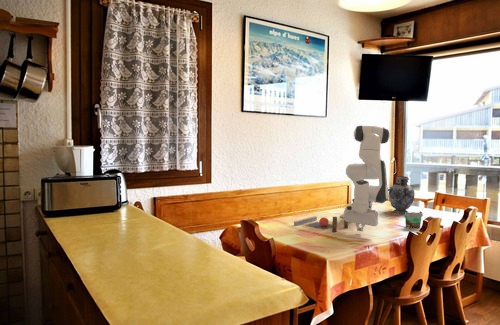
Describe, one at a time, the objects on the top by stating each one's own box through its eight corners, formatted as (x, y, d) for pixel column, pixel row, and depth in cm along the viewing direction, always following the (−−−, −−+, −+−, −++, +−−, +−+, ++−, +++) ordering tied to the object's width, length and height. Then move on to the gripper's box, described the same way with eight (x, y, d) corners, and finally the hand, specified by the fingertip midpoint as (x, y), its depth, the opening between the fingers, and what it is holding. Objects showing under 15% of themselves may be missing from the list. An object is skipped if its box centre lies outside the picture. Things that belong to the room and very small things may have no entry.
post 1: (331, 231, 227) (331, 216, 226) (333, 230, 229) (334, 216, 228) (335, 232, 225) (335, 217, 224) (337, 231, 227) (337, 217, 226)
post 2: (343, 227, 237) (343, 213, 237) (345, 227, 239) (345, 213, 239) (346, 228, 236) (347, 214, 235) (348, 227, 238) (349, 213, 237)
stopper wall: (293, 225, 241) (294, 221, 241) (314, 219, 259) (314, 216, 259) (296, 225, 240) (296, 222, 239) (316, 220, 257) (316, 216, 257)
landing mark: (305, 225, 241) (305, 225, 241) (317, 222, 251) (317, 221, 251) (324, 229, 232) (324, 229, 232) (335, 225, 242) (335, 225, 242)
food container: (410, 229, 237) (410, 213, 236) (403, 227, 243) (404, 211, 242) (426, 228, 240) (427, 213, 240) (419, 226, 246) (420, 211, 246)
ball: (328, 225, 234) (321, 229, 237) (332, 222, 238) (325, 227, 242) (322, 216, 235) (315, 221, 238) (326, 214, 240) (319, 219, 243)
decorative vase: (392, 208, 307) (395, 174, 304) (416, 212, 295) (419, 176, 293) (383, 212, 290) (385, 176, 288) (408, 216, 279) (410, 178, 276)
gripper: (380, 209, 218) (379, 233, 219) (348, 205, 231) (347, 227, 232) (375, 211, 213) (374, 235, 214) (343, 206, 227) (342, 228, 228)
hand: (360, 231), depth 223 cm, fingers closed
